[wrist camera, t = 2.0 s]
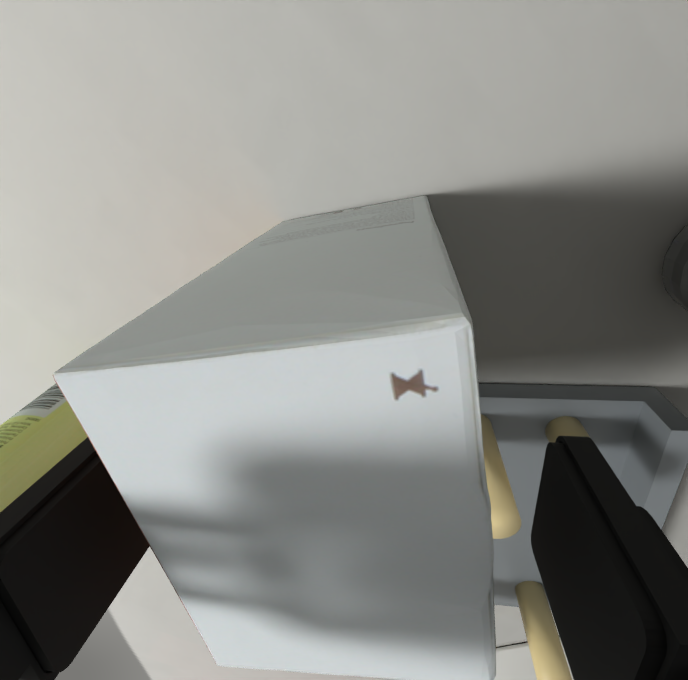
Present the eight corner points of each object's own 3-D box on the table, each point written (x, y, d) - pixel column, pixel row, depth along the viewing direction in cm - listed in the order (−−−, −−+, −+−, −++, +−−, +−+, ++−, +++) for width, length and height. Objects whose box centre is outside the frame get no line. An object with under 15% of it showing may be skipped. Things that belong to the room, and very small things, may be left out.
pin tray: (390, 381, 20) (384, 480, 14) (654, 387, 18) (774, 503, 12) (392, 576, 27) (389, 701, 21) (589, 594, 25) (647, 737, 19)
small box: (280, 219, 17) (31, 366, 6) (428, 191, 16) (488, 308, 5) (320, 379, 21) (212, 676, 9) (446, 366, 19) (507, 695, 8)
